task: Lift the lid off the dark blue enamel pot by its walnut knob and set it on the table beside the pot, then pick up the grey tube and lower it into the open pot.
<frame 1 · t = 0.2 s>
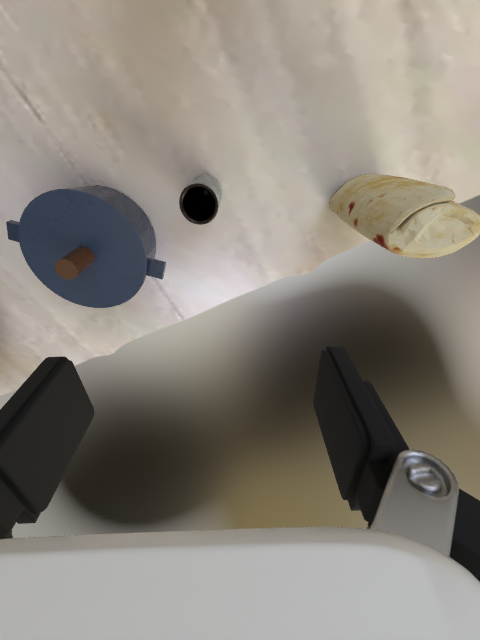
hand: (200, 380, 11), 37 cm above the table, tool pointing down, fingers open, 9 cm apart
food model: (358, 196, 42), on the table
grey tube: (206, 191, 41), on the table
pot: (107, 238, 44), on the table
lid: (86, 254, 38), point 7 cm above the table, touching pot
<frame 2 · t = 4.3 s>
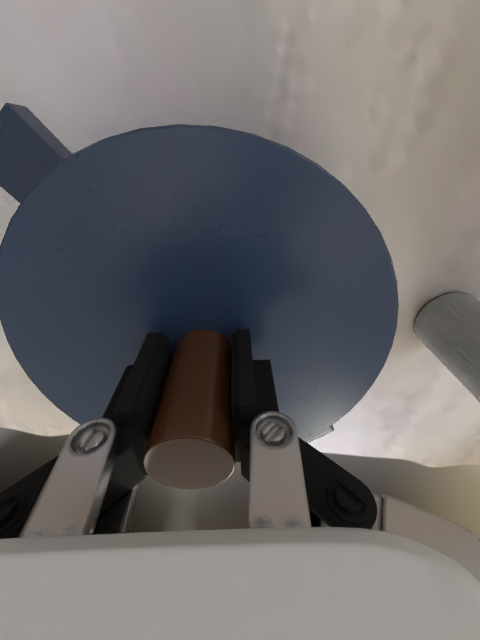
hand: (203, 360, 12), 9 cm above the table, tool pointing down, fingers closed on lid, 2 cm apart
grey tube: (442, 316, 21), on the table
pot: (214, 278, 19), on the table
lid: (205, 345, 13), point 8 cm above the table, touching gripper, pot
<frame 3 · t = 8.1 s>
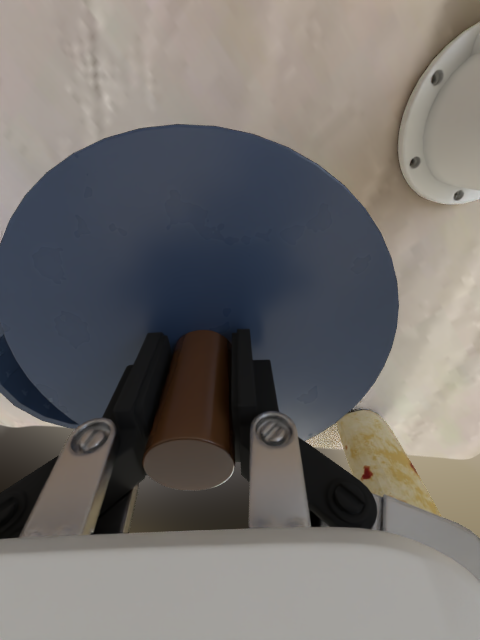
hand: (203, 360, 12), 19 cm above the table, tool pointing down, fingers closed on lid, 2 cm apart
food model: (359, 420, 44), on the table
pot: (100, 335, 34), on the table
lid: (205, 345, 13), point 18 cm above the table, touching gripper
when the fingers open (2 cm above the table, at t = 12.1 s): lid stays where it is, point 1 cm above the table.
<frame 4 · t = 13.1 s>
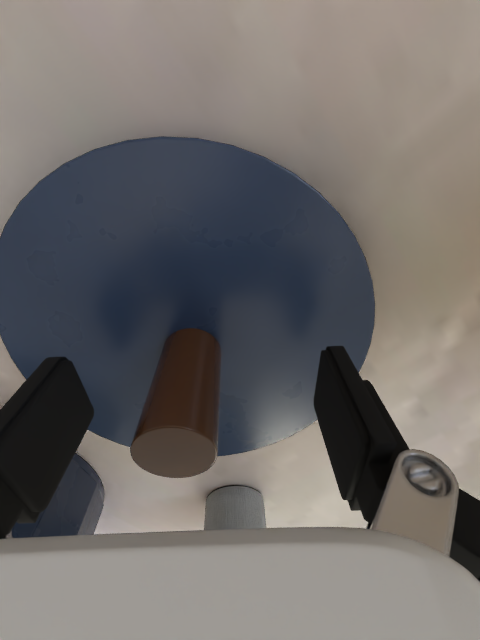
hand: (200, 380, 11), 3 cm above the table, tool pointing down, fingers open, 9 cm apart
grey tube: (234, 497, 22), on the table
lid: (194, 343, 13), point 1 cm above the table
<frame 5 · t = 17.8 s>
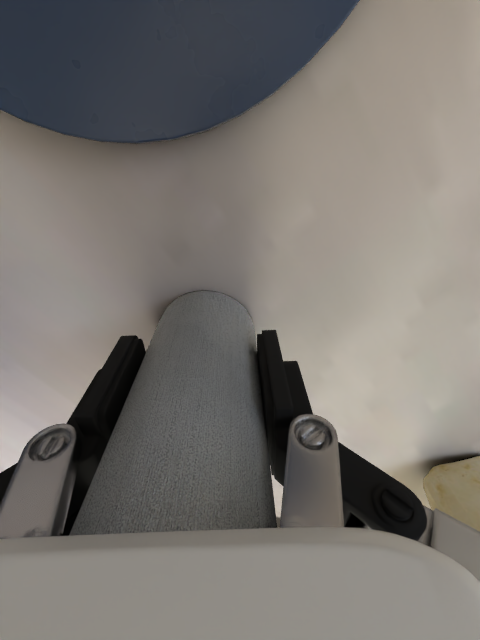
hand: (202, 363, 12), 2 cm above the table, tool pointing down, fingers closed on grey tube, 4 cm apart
food model: (463, 473, 21), on the table
grey tube: (207, 329, 14), on the table, touching gripper
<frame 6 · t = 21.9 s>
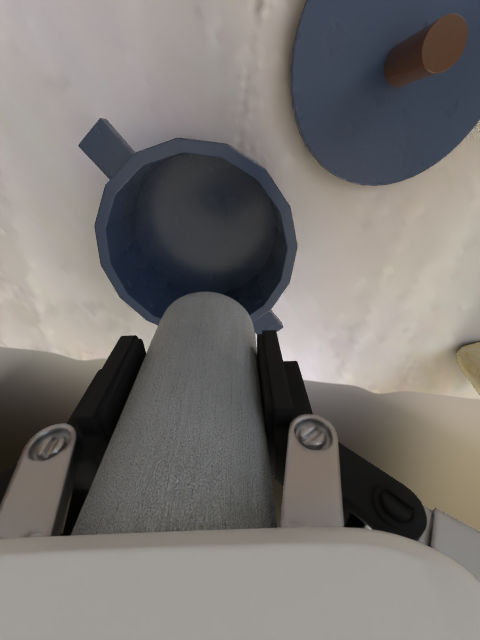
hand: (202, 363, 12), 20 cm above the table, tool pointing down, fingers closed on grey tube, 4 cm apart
food model: (477, 356, 38), on the table
grey tube: (208, 329, 14), point 17 cm above the table, touching gripper
pot: (206, 230, 28), on the table
lid: (397, 66, 21), point 1 cm above the table
when the fingers open (3 cm above the table, at t = 26.0 s): grey tube stays where it is, resting on pot.
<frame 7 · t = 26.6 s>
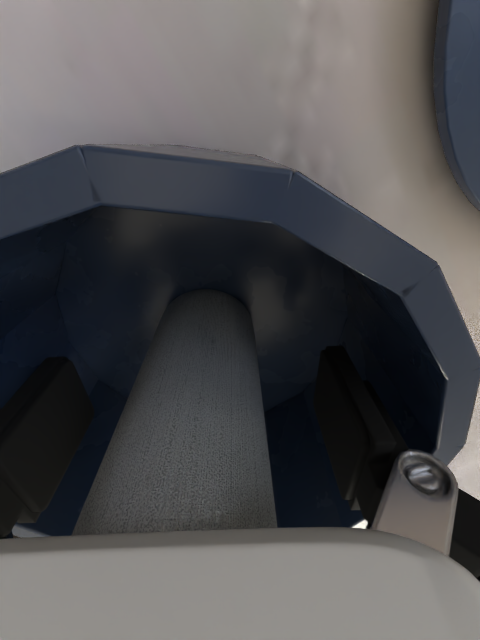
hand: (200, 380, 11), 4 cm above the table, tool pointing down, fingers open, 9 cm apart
grey tube: (208, 326, 14), resting on pot
pot: (207, 323, 14), on the table
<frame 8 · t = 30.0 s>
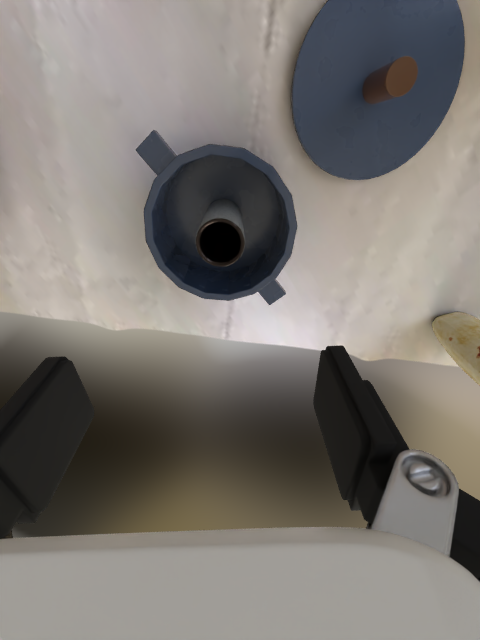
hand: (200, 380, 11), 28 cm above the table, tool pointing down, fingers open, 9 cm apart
food model: (450, 326, 44), on the table
grey tube: (223, 218, 34), resting on pot
pot: (223, 217, 35), on the table
lid: (373, 88, 28), point 1 cm above the table
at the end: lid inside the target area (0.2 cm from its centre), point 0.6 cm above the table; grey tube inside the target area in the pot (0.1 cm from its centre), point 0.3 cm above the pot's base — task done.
